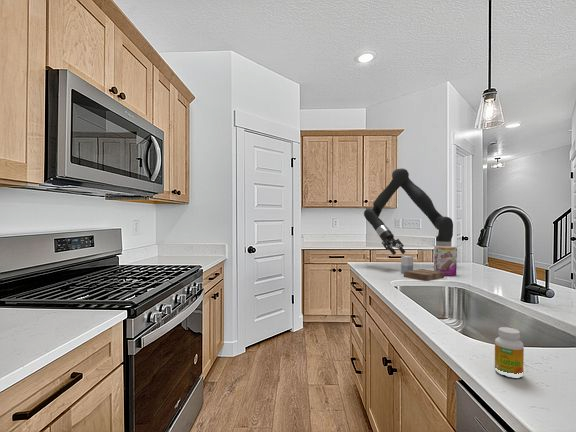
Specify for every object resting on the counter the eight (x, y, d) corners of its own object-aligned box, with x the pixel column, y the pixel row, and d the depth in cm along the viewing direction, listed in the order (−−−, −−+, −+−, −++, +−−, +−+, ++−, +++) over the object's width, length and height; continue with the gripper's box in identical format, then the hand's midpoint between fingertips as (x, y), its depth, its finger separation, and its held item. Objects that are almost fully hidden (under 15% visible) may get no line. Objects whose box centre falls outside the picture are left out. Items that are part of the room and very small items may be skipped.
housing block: (406, 272, 208) (406, 255, 208) (413, 273, 204) (413, 256, 204) (401, 273, 205) (401, 256, 205) (407, 274, 201) (407, 257, 201)
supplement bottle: (497, 377, 75) (497, 332, 75) (492, 366, 80) (492, 324, 80) (526, 381, 73) (526, 335, 73) (519, 370, 78) (520, 327, 78)
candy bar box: (436, 275, 197) (436, 247, 196) (433, 274, 202) (433, 246, 201) (457, 276, 195) (457, 247, 195) (453, 274, 200) (453, 246, 200)
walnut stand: (421, 274, 202) (421, 268, 202) (443, 277, 191) (443, 272, 191) (403, 276, 193) (403, 271, 193) (425, 280, 182) (425, 275, 182)
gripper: (380, 229, 212) (395, 250, 203) (395, 229, 220) (410, 248, 211) (373, 238, 217) (388, 258, 207) (388, 237, 225) (403, 256, 215)
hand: (399, 253), depth 209 cm, fingers open, 8 cm apart
